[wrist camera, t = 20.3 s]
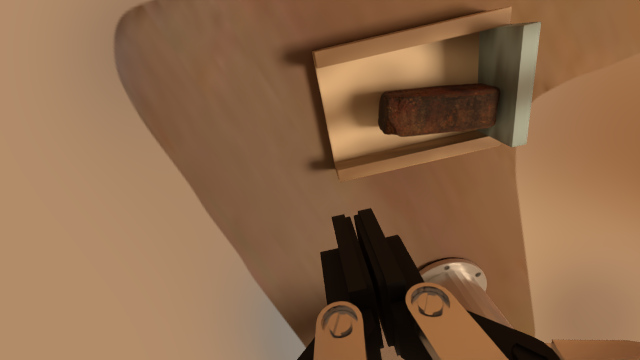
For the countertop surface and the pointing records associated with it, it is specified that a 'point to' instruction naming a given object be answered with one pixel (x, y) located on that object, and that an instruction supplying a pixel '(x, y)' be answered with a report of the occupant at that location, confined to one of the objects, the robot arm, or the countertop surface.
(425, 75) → the rail board
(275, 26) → the countertop surface
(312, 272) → the countertop surface
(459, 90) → the brick
